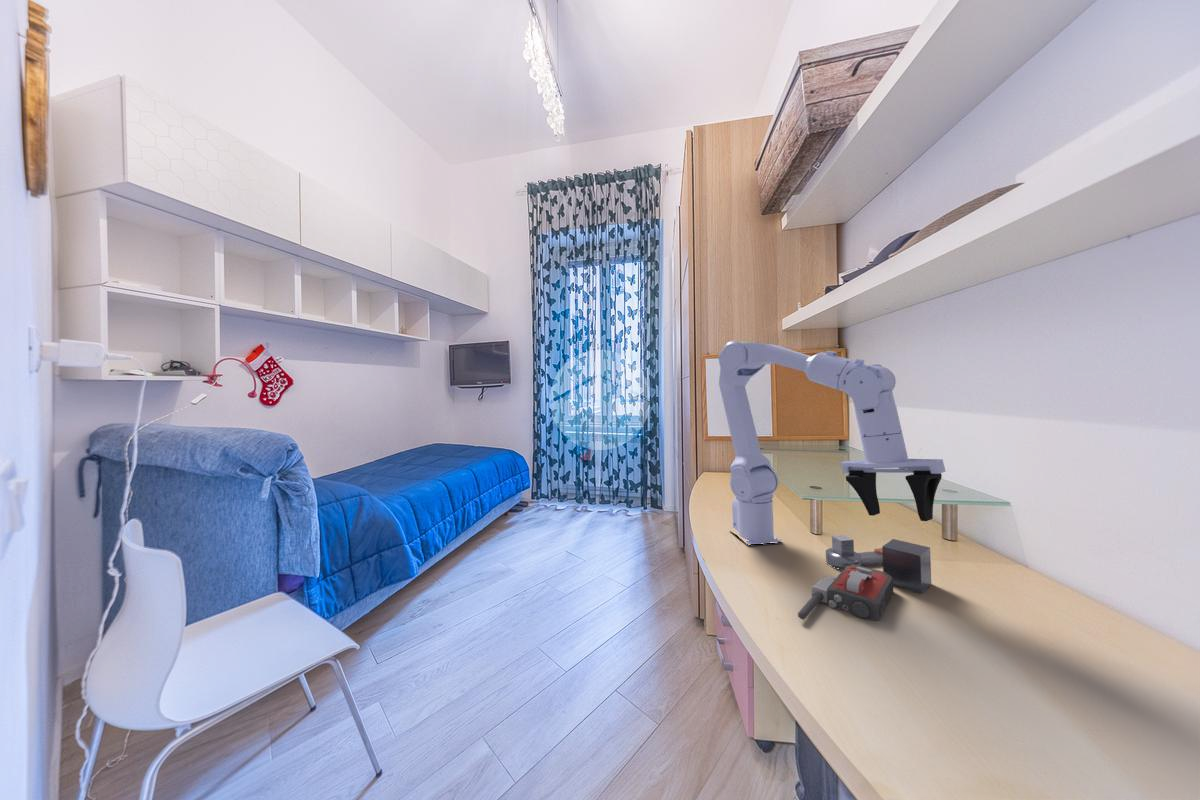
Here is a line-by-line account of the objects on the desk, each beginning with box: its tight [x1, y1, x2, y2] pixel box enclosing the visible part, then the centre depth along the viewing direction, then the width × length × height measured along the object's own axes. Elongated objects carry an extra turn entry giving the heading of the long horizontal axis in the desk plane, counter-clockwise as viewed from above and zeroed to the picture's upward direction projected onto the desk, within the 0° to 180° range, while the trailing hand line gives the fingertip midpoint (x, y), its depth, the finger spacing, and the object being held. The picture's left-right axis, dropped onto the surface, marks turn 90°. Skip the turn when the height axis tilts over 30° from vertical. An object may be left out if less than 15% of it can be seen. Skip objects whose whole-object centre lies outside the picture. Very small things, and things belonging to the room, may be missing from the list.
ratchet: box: [825, 534, 883, 571], centre depth 70 cm, size 16×6×5 cm, turn 95°
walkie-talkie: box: [797, 565, 894, 622], centre depth 57 cm, size 9×4×20 cm
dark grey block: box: [881, 538, 932, 595], centre depth 62 cm, size 5×5×6 cm
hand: (899, 517), depth 62 cm, fingers open, 7 cm apart
